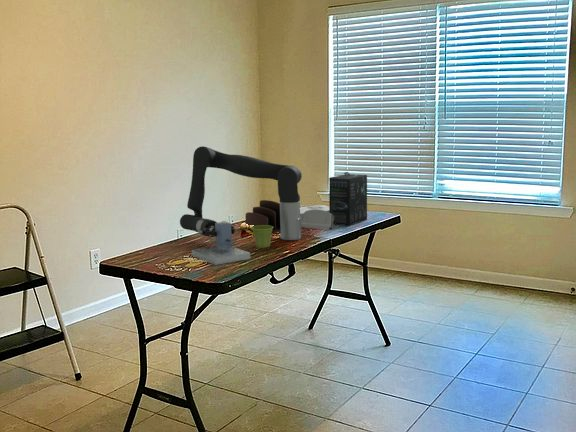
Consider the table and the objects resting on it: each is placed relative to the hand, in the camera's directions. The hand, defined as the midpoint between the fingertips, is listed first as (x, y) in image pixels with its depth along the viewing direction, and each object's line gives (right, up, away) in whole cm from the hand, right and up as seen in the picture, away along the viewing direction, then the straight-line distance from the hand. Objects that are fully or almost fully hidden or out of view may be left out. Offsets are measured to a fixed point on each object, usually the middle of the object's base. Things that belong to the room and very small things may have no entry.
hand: (225, 232), depth 273 cm
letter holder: (+15, 0, +43) cm, 45 cm away
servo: (-1, -7, +2) cm, 7 cm away
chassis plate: (0, -10, -14) cm, 17 cm away
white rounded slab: (+36, +5, +73) cm, 81 cm away
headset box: (+59, +4, +59) cm, 83 cm away
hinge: (+42, +1, +46) cm, 62 cm away
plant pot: (+16, -6, +4) cm, 18 cm away
